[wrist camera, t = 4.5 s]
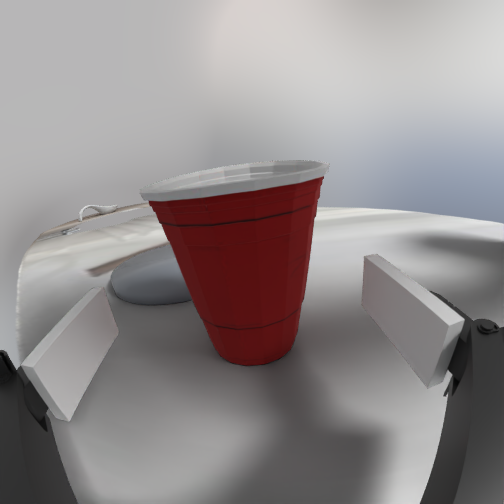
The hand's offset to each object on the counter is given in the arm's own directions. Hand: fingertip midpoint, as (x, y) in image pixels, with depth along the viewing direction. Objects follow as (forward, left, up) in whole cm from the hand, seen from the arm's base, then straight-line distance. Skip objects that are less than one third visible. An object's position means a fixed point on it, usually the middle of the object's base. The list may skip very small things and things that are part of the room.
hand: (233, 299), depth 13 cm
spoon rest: (+42, -135, -6) cm, 142 cm away
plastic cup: (-2, -4, -6) cm, 7 cm away
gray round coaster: (+2, -22, -6) cm, 23 cm away
